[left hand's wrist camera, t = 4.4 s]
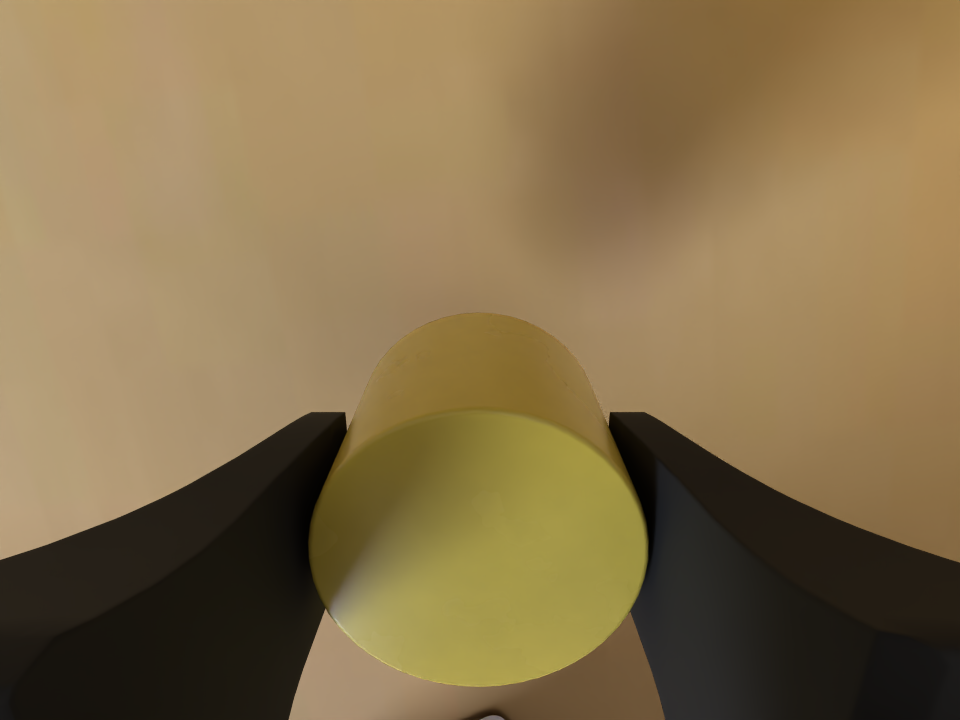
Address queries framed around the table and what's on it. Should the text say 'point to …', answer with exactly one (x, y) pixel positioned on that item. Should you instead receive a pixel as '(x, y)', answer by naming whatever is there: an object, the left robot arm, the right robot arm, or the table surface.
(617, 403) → the table surface
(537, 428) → the tin
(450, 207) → the table surface
